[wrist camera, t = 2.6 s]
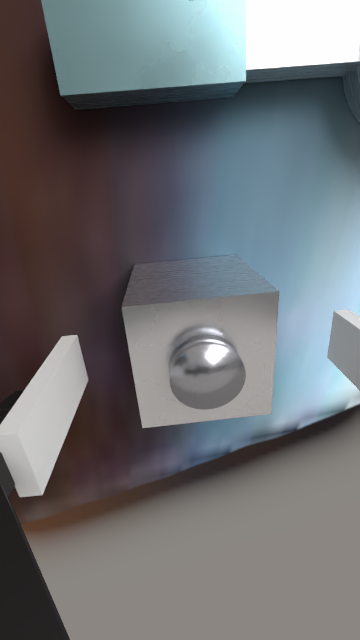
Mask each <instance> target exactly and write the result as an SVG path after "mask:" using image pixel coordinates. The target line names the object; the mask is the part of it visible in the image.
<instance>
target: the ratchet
mask: <svg viewBox="0 0 360 640" xmlns="http://www.w3.org/2000/svg"><path fill="white" fill-rule="evenodd" d="M41 1H42V6H43V11H44V16H45V21H46V26H47V31H48V36H49V41H50V46H51V51H52V56H53V61H54V66H55V71H56V76H57V81H58V86H59V91H60V96H62V97H63V98H64V99H65V100H66V101H67V102H68V103H69V104H70V105H71V106H72V107H73V108H74V109H75V110H81V109H94V108H107V107H119V106H132V105H145V104H157V103H170V102H182V101H195V100H208V99H220V98H232V97H233V96H234V95H235V94H236V93H237V91H238V90H239V89H240V88H241V87H242V85H243V84H244V83H256V82H269V81H282V80H295V79H308V78H321V77H334V76H341V77H342V83H343V90H344V93H345V97H346V100H347V103H348V105H349V108H350V110H351V112H352V114H353V115H354V117H355V119H356V120H357V122H358V123H359V124H360V0H41Z"/></svg>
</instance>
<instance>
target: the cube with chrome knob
mask: <svg viewBox="0 0 360 640" xmlns="http://www.w3.org/2000/svg"><path fill="white" fill-rule="evenodd" d="M278 301H279V291H278V290H277V289H276V288H275V287H273V286H272V285H271V284H270V283H269V282H268V281H266V280H265V279H264V278H263V277H262V276H261V275H259V274H258V273H257V272H256V271H255V270H254V269H252V268H251V267H250V266H249V265H248V264H247V263H246V262H244V261H243V260H242V259H241V258H240V257H239V256H237V255H226V256H216V257H205V258H195V259H184V260H174V261H163V262H153V263H142V264H134V267H133V270H132V274H131V277H130V280H129V283H128V287H127V290H126V293H125V297H124V300H123V303H122V307H121V308H122V313H123V319H124V325H125V331H126V336H127V342H128V348H129V354H130V359H131V365H132V371H133V376H134V382H135V388H136V394H137V399H138V405H139V411H140V417H141V422H142V428H149V427H158V426H167V425H175V424H184V423H193V422H202V421H211V420H220V419H229V418H238V417H247V416H256V415H265V414H272V398H273V382H274V365H275V349H276V333H277V317H278Z"/></svg>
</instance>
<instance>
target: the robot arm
mask: <svg viewBox="0 0 360 640" xmlns="http://www.w3.org/2000/svg"><path fill="white" fill-rule="evenodd" d="M328 358H329V359H330V360H331V361H332V362H333V364H334V365H335V366H336V367H337V368H338V369H339V370H340V371H341V372H342V373H343V374H344V375H345V376H346V377H347V378H348V379H349V380H350V381H351V382H352V383H353V384H354V385H355V386H356V387H357V388H358V389H359V390H360V316H358V315H356V314H355V313H353V312H352V311H350V310H349V309H348V310H338V311H334V314H333V321H332V328H331V335H330V342H329V349H328ZM87 382H88V377H87V372H86V368H85V364H84V360H83V356H82V352H81V348H80V344H79V340H78V336H77V335H70V336H62V337H61V339H60V340H59V341H58V343H57V344H56V346H55V347H54V349H53V350H52V351H51V353H50V354H49V356H48V357H47V359H46V360H45V361H44V363H43V364H42V366H41V367H40V369H39V370H38V371H37V373H36V374H35V376H34V377H33V379H32V380H31V381H30V383H29V384H28V386H27V387H26V389H25V390H24V391H16V392H14V393H13V394H12V395H10V396H9V397H8V398H6V399H5V400H4V401H3V403H2V404H1V405H0V640H70V639H69V636H68V634H67V632H66V629H65V627H64V625H63V623H62V620H61V618H60V615H59V613H58V611H57V608H56V606H55V604H54V601H53V599H52V597H51V595H50V592H49V590H48V587H47V585H46V583H45V580H44V578H43V576H42V573H41V571H40V569H39V566H38V564H37V562H36V559H35V557H34V555H33V552H32V550H31V548H30V545H29V543H28V541H27V538H26V536H25V534H24V531H23V529H22V527H21V524H20V522H19V520H18V517H17V515H16V513H15V510H14V508H13V506H12V503H11V501H10V499H9V496H10V494H11V492H12V490H13V488H14V486H15V488H16V490H17V492H18V494H19V497H28V496H38V495H43V492H44V490H45V487H46V485H47V482H48V480H49V477H50V475H51V472H52V470H53V467H54V465H55V462H56V460H57V457H58V455H59V452H60V450H61V447H62V445H63V442H64V440H65V437H66V435H67V432H68V430H69V427H70V425H71V422H72V420H73V417H74V415H75V412H76V410H77V407H78V405H79V402H80V400H81V397H82V395H83V392H84V390H85V387H86V385H87Z"/></svg>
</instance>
